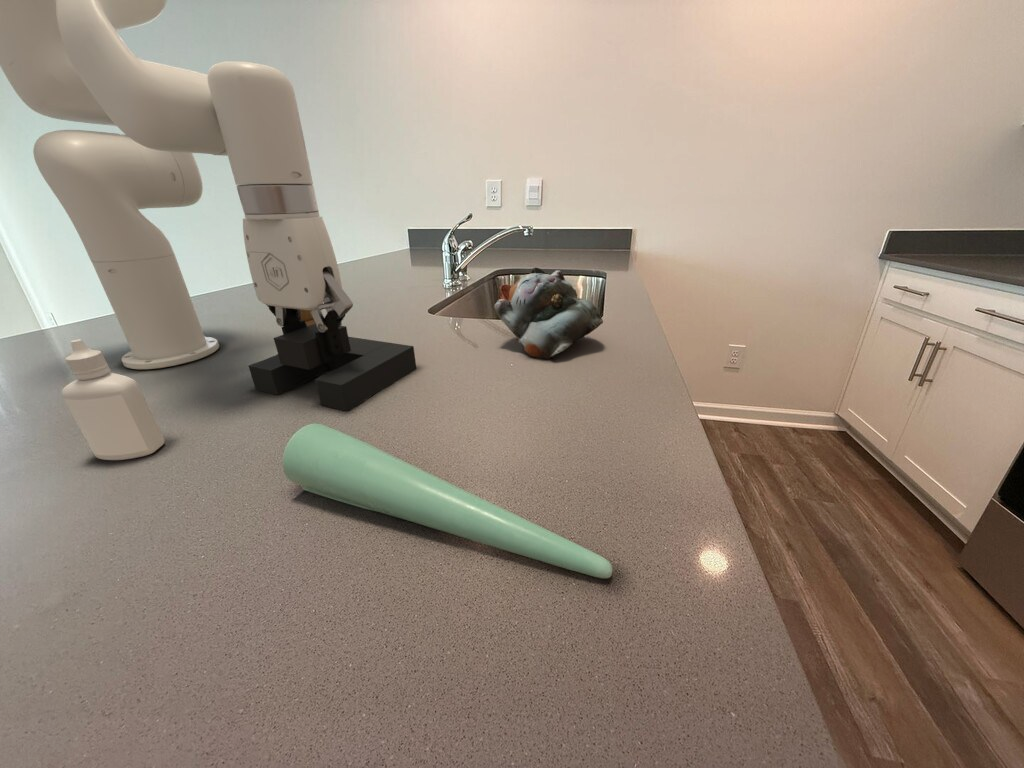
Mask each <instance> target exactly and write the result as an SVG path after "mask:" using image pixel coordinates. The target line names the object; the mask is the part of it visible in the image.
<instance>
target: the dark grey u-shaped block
mask: <svg viewBox="0 0 1024 768" xmlns="http://www.w3.org/2000/svg"><path fill="white" fill-rule="evenodd" d="M348 338H349V343H350V348H351V351H349V352H347V353H345V354H343V356H341V357H339V358H336V359H334V360H332V361H330V362H328V363H323V364H321V365H319V366H317V367H315V368H312V369H310V370H308V369H303V368H298V367H293V366H288V365H283V364H281V363H280V359H279V356H278V354H275V355H273V356H270V357H267V358H265V359H262V360H260V361H257V362H255V363H252V364H249V365H248V366H247V367H248V369H249V373H250V377H251V379H252V382H253V385H254V389H255V391H259V392H264V393H267V394H273V395H276V396H279V395H281V394H283V393H286V392H287V391H290V390H292V389H294V388H296V387H297V386H300V385H302V384H304V383H306V382H308V381H310V380H312V379H314V378H315V379H314V382H315V387H316V390H317V394H318V399H319V401H320V402H319V403H320V405H321V406H324V407H328V408H332V409H337V410H341V411H344V412H348V411H349V410H351V409H353V408H355V407H356V406H358V405H359V404H362V402H364V401H366V400H367V399H369V398H371V397H372V396H374V395H376V394H377V393H379V392H380V391H383V390H384V389H385V388H387V387H389V386H391V385H392V384H393V383H395V382H396V381H398V380H400V379H401V378H403V377H405V376H406V375H408V374H409V373H411V372H413V371H415V370H416V369H417V362H416V354H415V348H414V345H408V344H401V343H394V342H388V341H381V340H375V339H367V338H360V337H355V336H354V337H353V336H348ZM329 371H330V372H329ZM322 374H323V375H322ZM318 376H319V377H318Z"/></svg>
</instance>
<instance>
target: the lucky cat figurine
mask: <svg viewBox="0 0 1024 768" xmlns="http://www.w3.org/2000/svg"><path fill="white" fill-rule="evenodd" d="M499 290H500V291H499V295H498V296H499V297H498V298H497V301H496V303H495V304H494V306H493V307H494V310H495V314H497V316H498V317H499V319H500V320H501V322H502V323H503V324H504V325H505V326H506V327H507V328H508V329H509V331H510V332H511V333H512V334H514V336H515V337H516V338H517V339H518V341H519V342H520V343H521V345H522V346H523V350H524V351H525V353H526V354H528V355H529V356H530V357H534V358H538V359H539V358H540V359H545V360H549V359H551V357H554V356H556V355H558V354H560V353H562V352H564V351H565V350H567V349H568V348H570V347H571V346H572V345H573V344H575V343H576V342H578V341H580V340H581V339H582V338H584V337H586V336H588V335H589V334H591V333H592V332H594V331H595V330H596V329H598V328H599V327H600V326H601V325H603V323H604V320H603V318H602V315H601V314H600V311H599V309H598V308H597V306H596V305H595V304H594V303H593V302H592V301H590V300H588V299H585V298H580V297H578V293H577V290H576V289H575V288H574V286H573V285H572V284H571V283H570V282H569V281H567V280H566V279H565V274H564V273H563V271H562V270H560V269H559V270H555V271H554V272H552V273H551V274H549V273H546V272H545V271H544V270H542V269H541V268H539V267H533V268H532V269H531V271H530V272H529V273H528V274H525V275H523V276H522V277H521V278H519V279H518V280H517V281H516V282H515V283H514V285H513V284H507V283H505V284H501V285H500V286H499Z"/></svg>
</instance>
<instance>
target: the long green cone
mask: <svg viewBox="0 0 1024 768" xmlns="http://www.w3.org/2000/svg"><path fill="white" fill-rule="evenodd" d="M282 470H283V473H284V476H286V478H287V479H288V480H289V481H290V482H292V483H293V484H297V485H299V486H301V487H302V490H303V491H306V492H309V493H312V494H315V495H319V496H322V497H325V498H328V499H331V500H334V501H338V502H341V503H344V504H347V505H350V506H351V505H352V506H355V507H358V508H361V509H365V510H369V511H374V512H378V513H380V514H384V515H388V516H391V517H394V518H398V519H402V520H405V521H408V522H412V523H415V524H417V525H422V526H425V527H428V528H431V529H434V530H437V531H441V532H444V533H447V534H451V535H454V536H457V537H460V538H463V539H467V540H470V541H473V542H476V543H479V544H483V545H486V546H489V547H492V548H496V549H500V550H502V551H505V552H509V553H512V554H516V555H519V556H523V557H526V558H529V559H532V560H536V561H539V562H543V563H545V564H549V565H552V566H556V567H559V568H562V569H566V570H569V571H573V572H577V573H580V574H582V575H583V574H584V575H587V576H590V577H594V578H597V579H610V578H611V577H612V576H613V572H614V571H613V570H614V569H613V566H612V563H611V562H610V561H609V560H608V559H606V558H605V557H603V556H602V555H600V554H598V553H596V552H594V551H592V550H590V549H588V548H586V547H584V546H582V545H580V544H578V543H575V542H574V541H571V540H570V539H567V538H565V537H563V536H561V535H560V534H557V533H556V532H555V533H554V532H553V531H552V530H551V531H550V530H548V529H546V528H545V527H542V526H540V525H539V524H537V523H535V522H532V521H530V520H528V519H526V518H524V517H522V516H520V515H517V514H516V513H514V512H511V511H509V510H508V509H505V508H503V507H501V506H499V505H497V504H495V503H492V502H490V501H489V500H486V499H484V498H482V497H480V496H478V495H476V494H475V493H474V494H473V493H472V492H469V491H467V490H466V489H463V488H461V487H459V486H457V485H455V484H453V483H451V482H449V481H446V480H444V479H442V478H440V477H438V476H436V475H434V474H432V473H430V472H427V471H426V470H425V469H422V468H419V467H417V466H416V465H413V464H411V463H409V462H407V461H405V460H403V459H401V458H398V457H397V456H394V455H392V454H390V453H388V452H386V451H384V450H382V449H380V448H378V447H375V446H374V445H372V444H369V443H367V442H365V441H363V440H361V439H358V438H357V437H354V436H352V435H349V434H347V433H344V432H342V431H339V430H337V429H335V428H333V427H330V426H328V425H326V424H322V423H309V424H307V425H305V426H303V427H301V428H300V429H299V430H297V431H296V432H295V433H294V434H293V435H292V436H291V437H290V439H289V441H288V442H287V443H286V446H285V449H284V452H283V455H282Z"/></svg>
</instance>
